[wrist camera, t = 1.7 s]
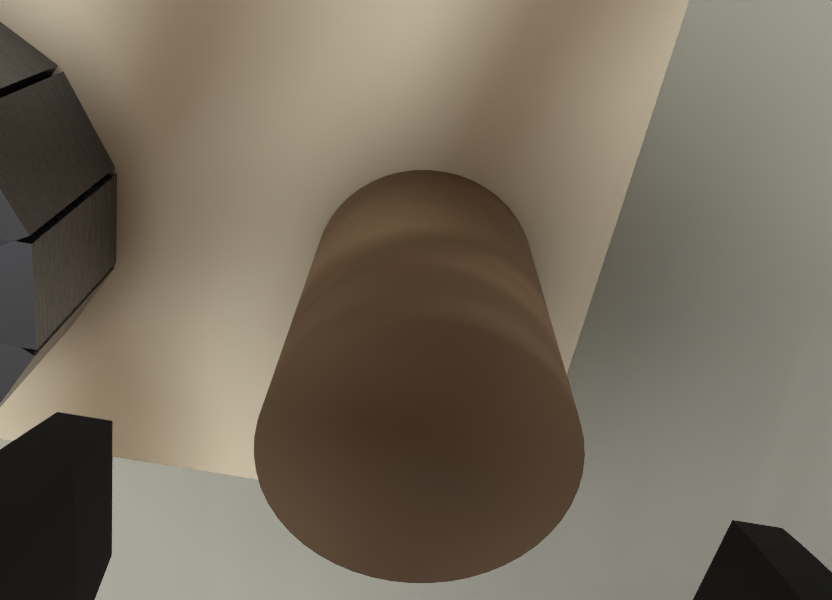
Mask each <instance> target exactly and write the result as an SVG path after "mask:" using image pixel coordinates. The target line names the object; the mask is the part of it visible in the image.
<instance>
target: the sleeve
mask: <svg viewBox="0 0 832 600" xmlns="http://www.w3.org/2000/svg"><path fill="white" fill-rule="evenodd" d="M57 66H58V65H57V64H56V63H54V62H53V61H52V60H50V59H49V58H48V57H46V56H45V55H44V54H42V53H41V52H40V51H39V50H37V49H36V48H35V47H33V46H32V45H31V44H29V43H28V42H27V41H25V40H24V39H23V38H21V37H20V36H19V35H17V34H16V33H15V32H13V31H12V30H11V29H9V28H8V27H7V26H6V25H4V24H3V23H2V22H0V407H1V406H2V405H3V403H4V402H5V401H6V400H7V399H8V398H9V397H10V396H11V394H12V393H13V392H14V391H15V390H16V389H17V388H18V386H19V385H20V384H21V383H22V382H23V381H24V380H25V378H26V377H27V376H28V375H29V374H30V373H31V372H32V371H33V369H34V368H35V367H36V366H37V365H38V364H39V363H40V361H41V360H42V359H43V358H44V357H45V356H46V355H47V353H48V352H49V351H50V350H51V349H52V348H53V347H54V346H55V344H56V343H57V342H58V341H59V340H60V339H61V338H62V336H63V335H64V334H65V333H66V332H67V331H68V330H69V328H70V327H71V326H72V324H73V323H74V322H75V320H76V319H77V318H78V316H79V315H80V314H81V312H82V311H83V310H84V308H85V307H86V306H87V304H88V303H89V302H90V300H91V299H92V297H93V296H94V295H95V293H96V292H97V291H98V289H99V288H100V287H101V285H102V284H103V283H104V281H105V280H106V279H107V277H108V276H109V275H110V273H111V272H112V271H113V269H114V267H113V266H114V265H115V263H116V237H117V174H114V173H109V172H110V171H112V170H113V169H114V168H115V166H114V164H113V162H112V160H111V158H110V157H109V155H108V153H107V151H106V149H105V147H104V146H103V144H102V142H101V140H100V138H99V136H98V134H97V133H96V131H95V129H94V127H93V125H92V123H91V122H90V120H89V118H88V116H87V114H86V112H85V110H84V109H83V107H82V105H81V103H80V101H79V99H78V98H77V96H76V94H75V92H74V90H73V88H72V86H71V85H70V83H69V81H68V79H67V77H66V75H65V74H64V72H61V73H58V74H56V75H53V76H52V74H53V73H54V71H55V69H56V68H57Z"/></svg>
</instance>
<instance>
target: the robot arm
mask: <svg viewBox="0 0 832 600" xmlns="http://www.w3.org/2000/svg"><path fill="white" fill-rule="evenodd" d="M112 427H113V421H111V420H105V419H99V418H92V417H86V416H80V415H74V414H67V413H61V412H56V413H55V414H53V415H52V416H50V417H49V418H47V419H46V420H44V421H43V422H41V423H39V424H38V425H36V426H35V427H33V428H32V429H30V430H29V431H27V432H26V433H24V434H23V435H21V436H20V437H18V438H17V439H15V440H14V441H12V442H11V443H9V444H8V445H6V446H5V447H3V448H2V449H0V600H94V599H95V597H96V594H97V592H98V589H99V586H100V584H101V581H102V579H103V576H104V573H105V571H106V568H107V566H108V563H109V561H110V558H111V555H112ZM693 600H832V572H831V571H829V570H828V569H827V568H826V567H825V566H824V565H823V564H822V563H821V562H820V561H819V560H818V559H817V558H816V557H814V556H813V555H812V554H811V553H810V552H809V551H808V550H807V549H806V548H805V547H803V546H802V545H801V544H800V543H799V542H798V541H797V540H795V539H794V538H793V537H792V536H791V535H790V534H788V533H787V532H786V531H785V530H784V529H782V528H778V527H771V526H765V525H759V524H753V523H747V522H740V521H734V520H732V522H731V524H730V526H729V528H728V530H727V532H726V534H725V536H724V538H723V540H722V542H721V544H720V546H719V548H718V550H717V552H716V554H715V556H714V558H713V560H712V562H711V564H710V566H709V569H708V571H707V573H706V575H705V577H704V579H703V581H702V583H701V585H700V587H699V589H698V591H697V593H696V595H695V597H694V599H693Z"/></svg>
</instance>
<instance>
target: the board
mask: <svg viewBox="0 0 832 600" xmlns="http://www.w3.org/2000/svg"><path fill="white" fill-rule="evenodd" d="M688 3H689V0H0V22H2V23H3V24H4V25H6V26H7V27H8V28H9V29H11V30H12V31H13V32H15V33H16V34H17V35H19V36H20V37H21V38H23V39H24V40H25V41H27V42H28V43H29V44H31V45H32V46H33V47H35V48H36V49H37V50H39V51H40V52H41V53H42V54H44V55H45V56H46V57H48V58H49V59H50V60H52V61H53V62H54V63H56V64H57V65H58V66H57V68H56V69H55V71H54V73H53V74H52V76H53V75H56V74H58V73H61V72H64V74H65V75H66V77H67V79H68V81H69V83H70V85H71V86H72V88H73V90H74V92H75V94H76V96H77V98H78V99H79V101H80V103H81V105H82V107H83V109H84V110H85V112H86V114H87V116H88V118H89V120H90V122H91V123H92V125H93V127H94V129H95V131H96V133H97V134H98V136H99V138H100V140H101V142H102V144H103V146H104V147H105V149H106V151H107V153H108V155H109V157H110V158H111V160H112V162H113V164H114V166H115V168H114V169H113V170H112V171H110V172H109V173H114V174H117V237H116V263H115V265H114V266H113V267H114V269H113V271H112V272H111V273H110V275H109V276H108V277H107V279H106V280H105V281H104V283H103V284H102V285H101V287H100V288H99V289H98V291H97V292H96V293H95V295H94V296H93V297H92V299H91V300H90V302H89V303H88V304H87V306H86V307H85V308H84V310H83V311H82V312H81V314H80V315H79V316H78V318H77V319H76V320H75V322H74V323H73V324H72V326H71V327H70V328H69V330H68V331H67V332H66V333H65V334H64V335H63V336H62V338H61V339H60V340H59V341H58V342H57V343H56V344H55V346H54V347H53V348H52V349H51V350H50V351H49V352H48V353H47V355H46V356H45V357H44V358H43V359H42V360H41V361H40V363H39V364H38V365H37V366H36V367H35V368H34V369H33V371H32V372H31V373H30V374H29V375H28V376H27V377H26V378H25V380H24V381H23V382H22V383H21V384H20V385H19V386H18V388H17V389H16V390H15V391H14V392H13V393H12V394H11V396H10V397H9V398H8V399H7V400H6V401H5V402H4V403H3V405H2V406H1V407H0V439H6V440H12V441H14V440H15V439H17V438H18V437H20V436H21V435H23V434H24V433H26V432H27V431H29V430H30V429H32V428H33V427H35V426H36V425H38V424H39V423H41V422H43V421H44V420H46V419H47V418H49V417H50V416H52V415H53V414H55V413H56V412H61V413H67V414H74V415H80V416H86V417H92V418H99V419H105V420H111V421H113V427H112V456H113V457H119V458H125V459H132V460H138V461H144V462H150V463H157V464H163V465H169V466H176V467H182V468H188V469H195V470H201V471H207V472H213V473H220V474H226V475H232V476H239V477H245V478H251V479H258V476H257V473H256V468H255V460H254V436H255V431H256V425H257V420H258V417H259V414H260V411H261V409H262V406H263V403H264V400H265V397H266V394H267V391H268V388H269V386H270V383H271V380H272V377H273V374H274V371H275V368H276V365H277V363H278V360H279V357H280V354H281V351H282V348H283V345H284V342H285V340H286V337H287V334H288V331H289V328H290V325H291V322H292V320H293V317H294V314H295V311H296V308H297V305H298V302H299V299H300V297H301V294H302V291H303V288H304V285H305V282H306V279H307V276H308V274H309V271H310V268H311V265H312V262H313V259H314V256H315V253H316V251H317V248H318V245H319V242H320V239H321V237H322V234H323V231H324V229H325V227H326V225H327V224H328V222H329V220H330V218H331V217H332V215H333V214H334V213H335V211H336V210H337V209H338V207H339V206H340V205H341V204H342V203H343V202H344V201H345V200H346V199H347V198H348V197H350V196H351V195H352V194H353V193H355V192H356V191H357V190H359V189H360V188H362V187H364V186H365V185H367V184H369V183H371V182H372V181H375V180H377V179H380V178H382V177H384V176H387V175H391V174H395V173H399V172H404V171H412V170H435V171H443V172H448V173H452V174H456V175H460V176H462V177H465V178H467V179H470V180H472V181H475V182H476V183H478V184H480V185H482V186H484V187H485V188H487V189H488V190H490V191H491V192H492V193H494V194H495V195H496V196H498V197H499V198H500V199H501V200H502V201H503V202H504V203H505V204H506V205H507V206H508V207H509V209H510V210H511V211H512V212H513V214H514V215H515V216H516V218H517V219H518V221H519V223H520V225H521V226H522V228H523V230H524V233H525V235H526V238H527V240H528V243H529V247H530V250H531V254H532V257H533V261H534V264H535V268H536V271H537V275H538V278H539V281H540V285H541V288H542V292H543V295H544V299H545V302H546V306H547V309H548V313H549V316H550V319H551V323H552V326H553V330H554V333H555V337H556V340H557V344H558V347H559V351H560V354H561V358H562V361H563V364H564V368H565V371H566V375H567V373H568V370H569V367H570V364H571V360H572V357H573V354H574V351H575V348H576V345H577V342H578V339H579V336H580V333H581V330H582V327H583V324H584V321H585V318H586V315H587V312H588V309H589V306H590V302H591V299H592V296H593V293H594V290H595V287H596V284H597V281H598V278H599V275H600V272H601V269H602V266H603V263H604V260H605V257H606V254H607V251H608V247H609V244H610V241H611V238H612V235H613V232H614V229H615V226H616V223H617V220H618V217H619V214H620V211H621V208H622V205H623V202H624V199H625V196H626V193H627V189H628V186H629V183H630V180H631V177H632V174H633V171H634V168H635V165H636V162H637V159H638V156H639V153H640V150H641V147H642V144H643V141H644V138H645V134H646V131H647V128H648V125H649V122H650V119H651V116H652V113H653V110H654V107H655V104H656V101H657V98H658V95H659V92H660V89H661V86H662V83H663V80H664V76H665V73H666V70H667V67H668V64H669V61H670V58H671V55H672V52H673V49H674V46H675V43H676V40H677V37H678V34H679V31H680V28H681V25H682V22H683V18H684V15H685V12H686V9H687V6H688Z"/></svg>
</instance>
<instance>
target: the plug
mask: <svg viewBox="0 0 832 600" xmlns="http://www.w3.org/2000/svg"><path fill="white" fill-rule="evenodd" d="M584 456H585V454H584V438H583V433H582V429H581V424H580V420H579V416H578V413H577V409H576V406H575V403H574V399H573V396H572V392H571V389H570V385H569V382H568V378H567V375H566V371H565V368H564V364H563V361H562V358H561V354H560V351H559V347H558V344H557V340H556V337H555V333H554V330H553V326H552V323H551V319H550V316H549V313H548V309H547V306H546V302H545V299H544V295H543V292H542V288H541V285H540V281H539V278H538V275H537V271H536V268H535V264H534V261H533V257H532V254H531V250H530V247H529V243H528V240H527V238H526V235H525V233H524V230H523V228H522V226H521V225H520V223H519V221H518V219H517V218H516V216H515V215H514V214H513V212H512V211H511V210H510V209H509V207H508V206H507V205H506V204H505V203H504V202H503V201H502V200H501V199H500V198H499V197H498V196H496V195H495V194H494V193H492V192H491V191H490V190H488V189H487V188H485V187H484V186H482V185H480V184H478V183H476V182H475V181H472V180H470V179H467V178H465V177H462V176H460V175H456V174H452V173H448V172H443V171H435V170H412V171H404V172H399V173H395V174H391V175H387V176H384V177H382V178H380V179H377V180H375V181H372V182H371V183H369V184H367V185H365V186H364V187H362V188H360V189H359V190H357V191H356V192H355V193H353V194H352V195H351V196H350V197H348V198H347V199H346V200H345V201H344V202H343V203H342V204H341V205H340V206H339V207H338V209H337V210H336V211H335V213H334V214H333V215H332V217H331V218H330V220H329V222H328V224H327V225H326V227H325V229H324V231H323V234H322V237H321V239H320V242H319V245H318V248H317V251H316V253H315V256H314V259H313V262H312V265H311V268H310V271H309V274H308V276H307V279H306V282H305V285H304V288H303V291H302V294H301V297H300V299H299V302H298V305H297V308H296V311H295V314H294V317H293V320H292V322H291V325H290V328H289V331H288V334H287V337H286V340H285V342H284V345H283V348H282V351H281V354H280V357H279V360H278V363H277V365H276V368H275V371H274V374H273V377H272V380H271V383H270V386H269V388H268V391H267V394H266V397H265V400H264V403H263V406H262V409H261V411H260V414H259V417H258V420H257V425H256V431H255V436H254V460H255V468H256V473H257V476H258V480H259V483H260V486H261V489H262V491H263V493H264V495H265V498H266V500H267V502H268V504H269V505H270V507H271V508H272V510H273V511H274V513H275V514H276V516H277V518H278V519H279V520H280V521H281V522H282V523H283V525H284V526H285V527H286V528H287V529H288V530H289V532H291V533H292V534H293V535H294V536H295V537H296V538H297V539H298V540H299V541H301V542H302V543H303V544H304V545H305V546H307V547H308V548H310V549H311V550H313V551H314V552H315V553H317V554H318V555H320V556H322V557H324V558H325V559H327V560H329V561H331V562H333V563H335V564H337V565H339V566H342V567H344V568H346V569H349V570H351V571H354V572H357V573H360V574H363V575H367V576H370V577H374V578H379V579H384V580H389V581H398V582H407V583H435V582H446V581H453V580H459V579H464V578H469V577H472V576H476V575H479V574H483V573H486V572H489V571H491V570H494V569H496V568H499V567H501V566H504V565H506V564H507V563H509V562H511V561H513V560H515V559H517V558H519V557H520V556H522V555H523V554H525V553H526V552H528V551H529V550H531V549H532V548H534V547H535V546H536V545H537V544H539V543H540V542H541V541H542V540H543V539H544V538H545V537H546V536H548V535H549V534H550V533H551V531H552V530H553V529H554V528H555V527H556V526H557V525H558V523H559V522H560V521H561V520H562V518H563V517H564V515H565V514H566V512H567V511H568V509H569V507H570V506H571V504H572V502H573V500H574V497H575V495H576V493H577V491H578V488H579V484H580V481H581V477H582V474H583V465H584Z"/></svg>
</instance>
